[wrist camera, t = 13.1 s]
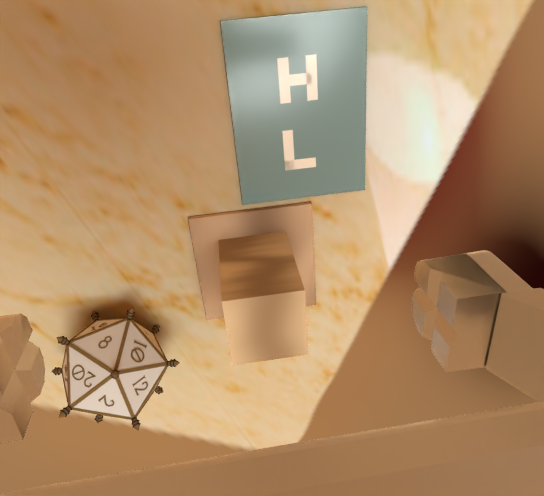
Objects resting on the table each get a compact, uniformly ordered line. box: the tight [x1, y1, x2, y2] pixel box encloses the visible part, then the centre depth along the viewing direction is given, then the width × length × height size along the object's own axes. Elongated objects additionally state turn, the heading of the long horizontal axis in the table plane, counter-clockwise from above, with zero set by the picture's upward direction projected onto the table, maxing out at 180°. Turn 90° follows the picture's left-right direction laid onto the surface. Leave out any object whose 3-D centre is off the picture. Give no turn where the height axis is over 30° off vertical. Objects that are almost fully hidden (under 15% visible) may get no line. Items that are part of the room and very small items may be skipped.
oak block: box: [219, 231, 309, 365], centre depth 33 cm, size 5×5×8 cm
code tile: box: [220, 7, 367, 205], centre depth 32 cm, size 9×12×1 cm
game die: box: [51, 307, 180, 430], centre depth 35 cm, size 9×8×10 cm
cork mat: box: [188, 202, 316, 320], centre depth 37 cm, size 9×9×1 cm
